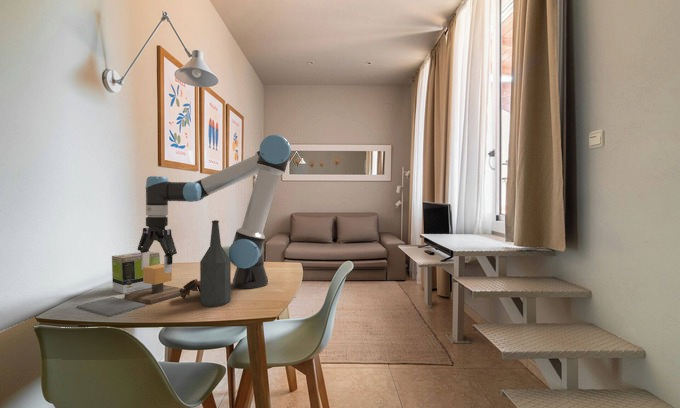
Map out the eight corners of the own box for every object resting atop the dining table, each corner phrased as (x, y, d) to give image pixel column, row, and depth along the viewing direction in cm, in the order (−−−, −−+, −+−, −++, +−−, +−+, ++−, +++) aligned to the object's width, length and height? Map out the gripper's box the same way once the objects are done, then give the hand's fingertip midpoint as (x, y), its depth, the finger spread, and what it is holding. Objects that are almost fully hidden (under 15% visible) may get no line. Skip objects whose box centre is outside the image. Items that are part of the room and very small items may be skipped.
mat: (145, 306, 119) (145, 304, 119) (109, 316, 109) (109, 314, 109) (112, 298, 128) (112, 296, 128) (76, 307, 118) (76, 305, 118)
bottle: (219, 308, 117) (218, 221, 116) (194, 306, 119) (194, 221, 119) (235, 299, 127) (235, 219, 126) (212, 297, 129) (212, 219, 129)
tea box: (149, 283, 152) (149, 250, 151) (161, 286, 146) (160, 252, 146) (111, 290, 139) (111, 254, 139) (122, 294, 134) (122, 257, 133)
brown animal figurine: (205, 303, 123) (192, 285, 122) (184, 313, 125) (171, 295, 123) (218, 287, 135) (206, 270, 133) (199, 296, 137) (187, 279, 135)
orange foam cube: (171, 280, 133) (171, 265, 133) (154, 284, 127) (154, 268, 127) (160, 278, 136) (160, 264, 136) (143, 282, 130) (143, 267, 130)
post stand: (189, 293, 135) (189, 267, 135) (151, 304, 121) (150, 275, 121) (163, 288, 143) (163, 263, 142) (124, 298, 128) (124, 270, 128)
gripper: (127, 215, 134) (127, 269, 134) (169, 217, 122) (168, 276, 122) (146, 214, 140) (145, 265, 141) (187, 217, 129) (186, 272, 129)
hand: (156, 270), depth 132 cm, fingers open, 13 cm apart
